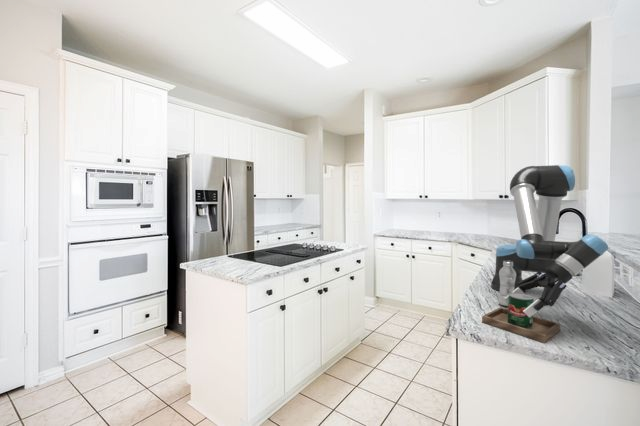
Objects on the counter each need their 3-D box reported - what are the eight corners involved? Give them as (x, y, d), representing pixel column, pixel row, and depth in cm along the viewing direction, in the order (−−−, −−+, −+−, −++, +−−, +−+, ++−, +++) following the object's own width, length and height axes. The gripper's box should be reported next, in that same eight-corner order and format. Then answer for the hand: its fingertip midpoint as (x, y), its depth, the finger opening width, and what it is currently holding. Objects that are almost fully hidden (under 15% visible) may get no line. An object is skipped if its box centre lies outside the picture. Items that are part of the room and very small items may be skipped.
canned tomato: (509, 327, 108) (511, 297, 108) (505, 318, 116) (506, 291, 115) (535, 330, 105) (537, 300, 105) (529, 322, 113) (530, 293, 112)
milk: (611, 297, 143) (615, 244, 142) (580, 291, 152) (583, 241, 150) (614, 292, 151) (617, 242, 150) (584, 287, 160) (586, 239, 158)
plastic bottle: (509, 309, 127) (512, 263, 126) (494, 304, 133) (496, 260, 132) (518, 307, 130) (520, 262, 129) (503, 302, 136) (504, 259, 135)
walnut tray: (482, 322, 114) (482, 316, 113) (500, 312, 123) (500, 307, 123) (544, 343, 98) (544, 336, 97) (560, 330, 107) (560, 323, 107)
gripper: (597, 287, 94) (543, 329, 98) (549, 268, 119) (507, 302, 122) (580, 270, 95) (526, 312, 98) (536, 254, 119) (494, 289, 123)
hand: (516, 307), depth 110 cm, fingers open, 13 cm apart
